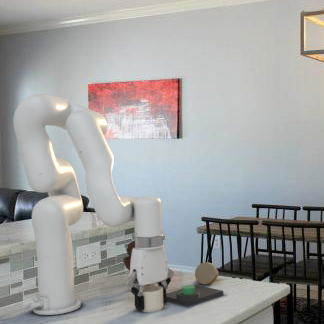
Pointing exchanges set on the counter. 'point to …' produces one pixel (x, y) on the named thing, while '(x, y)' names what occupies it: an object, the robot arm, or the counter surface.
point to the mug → (206, 273)
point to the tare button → (188, 290)
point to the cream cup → (153, 298)
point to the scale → (193, 296)
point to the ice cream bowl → (128, 258)
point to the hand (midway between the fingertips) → (151, 305)
